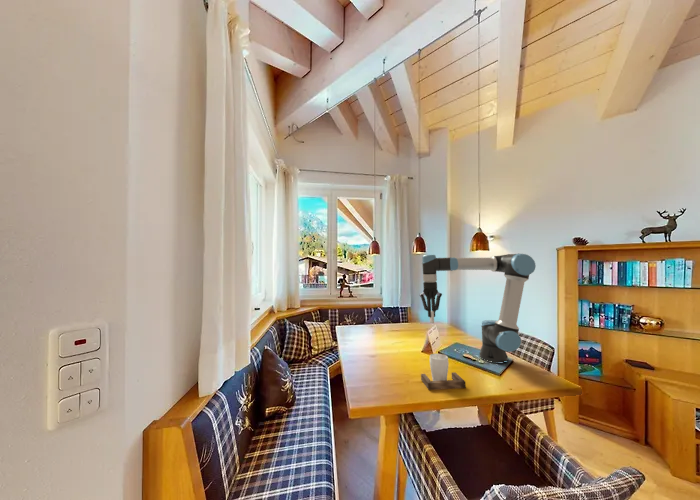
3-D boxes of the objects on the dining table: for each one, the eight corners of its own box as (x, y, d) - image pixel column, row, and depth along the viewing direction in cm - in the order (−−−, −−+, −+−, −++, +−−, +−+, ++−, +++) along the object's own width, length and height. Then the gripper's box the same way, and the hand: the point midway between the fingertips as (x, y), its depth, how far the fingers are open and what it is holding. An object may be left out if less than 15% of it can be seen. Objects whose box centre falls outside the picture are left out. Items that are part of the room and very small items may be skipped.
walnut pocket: (455, 378, 131) (455, 372, 132) (465, 388, 121) (465, 381, 122) (421, 379, 130) (421, 373, 130) (428, 389, 120) (428, 383, 120)
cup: (450, 386, 123) (449, 360, 124) (430, 384, 126) (429, 359, 126) (448, 377, 132) (447, 354, 133) (429, 376, 134) (429, 352, 135)
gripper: (438, 280, 152) (440, 320, 151) (416, 281, 151) (418, 321, 150) (443, 281, 145) (445, 323, 144) (421, 282, 144) (423, 325, 143)
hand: (432, 322), depth 147 cm, fingers closed
